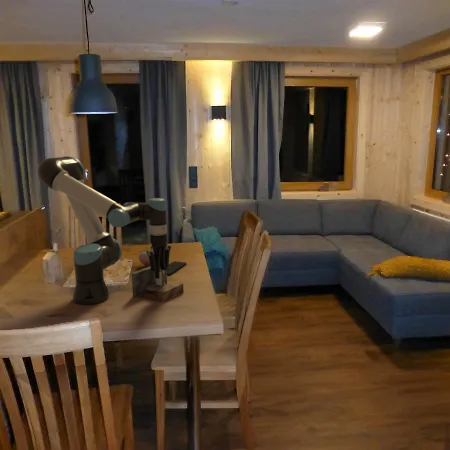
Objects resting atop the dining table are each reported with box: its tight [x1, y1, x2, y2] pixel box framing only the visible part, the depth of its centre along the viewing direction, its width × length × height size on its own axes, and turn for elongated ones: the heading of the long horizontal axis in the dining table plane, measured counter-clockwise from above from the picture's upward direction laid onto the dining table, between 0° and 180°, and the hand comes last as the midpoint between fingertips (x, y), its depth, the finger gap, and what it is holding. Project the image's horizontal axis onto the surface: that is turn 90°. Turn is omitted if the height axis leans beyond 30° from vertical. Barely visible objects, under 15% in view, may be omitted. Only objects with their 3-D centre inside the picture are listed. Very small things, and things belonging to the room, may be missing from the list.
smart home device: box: [167, 260, 187, 277], centre depth 223 cm, size 8×2×20 cm
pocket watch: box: [147, 266, 165, 291], centre depth 186 cm, size 8×8×10 cm
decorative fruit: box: [138, 249, 151, 267], centre depth 227 cm, size 9×8×10 cm
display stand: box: [131, 266, 184, 303], centre depth 188 cm, size 20×15×11 cm
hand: (160, 284), depth 188 cm, fingers closed on pocket watch
